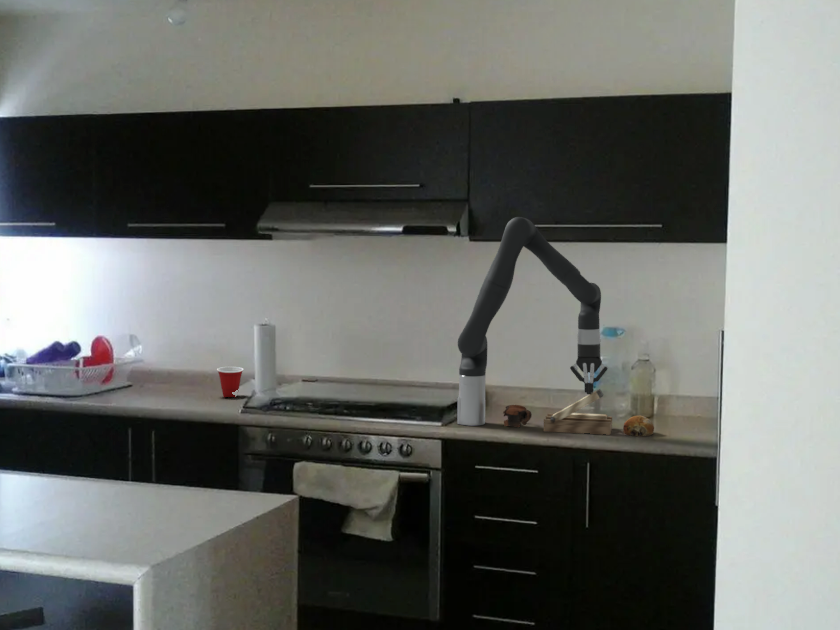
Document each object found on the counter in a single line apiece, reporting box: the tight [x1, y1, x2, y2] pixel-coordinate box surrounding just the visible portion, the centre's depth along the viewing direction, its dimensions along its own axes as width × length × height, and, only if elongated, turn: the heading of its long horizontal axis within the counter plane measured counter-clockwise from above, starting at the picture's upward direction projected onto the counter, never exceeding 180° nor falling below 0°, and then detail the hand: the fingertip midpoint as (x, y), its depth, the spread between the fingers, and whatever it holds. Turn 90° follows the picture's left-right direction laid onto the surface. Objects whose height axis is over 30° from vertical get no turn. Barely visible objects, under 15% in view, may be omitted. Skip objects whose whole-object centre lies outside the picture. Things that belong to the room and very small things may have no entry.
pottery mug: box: [502, 404, 532, 428], centre depth 318 cm, size 12×10×8 cm
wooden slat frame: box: [543, 412, 613, 436], centre depth 311 cm, size 22×12×5 cm, turn 75°
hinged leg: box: [550, 388, 604, 420], centre depth 308 cm, size 20×3×2 cm
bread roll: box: [622, 414, 655, 437], centre depth 305 cm, size 10×10×8 cm
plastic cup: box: [216, 366, 244, 398], centre depth 378 cm, size 11×11×12 cm
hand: (589, 393), depth 307 cm, fingers closed
